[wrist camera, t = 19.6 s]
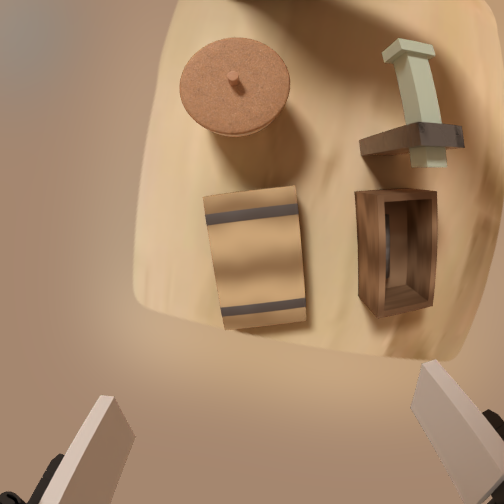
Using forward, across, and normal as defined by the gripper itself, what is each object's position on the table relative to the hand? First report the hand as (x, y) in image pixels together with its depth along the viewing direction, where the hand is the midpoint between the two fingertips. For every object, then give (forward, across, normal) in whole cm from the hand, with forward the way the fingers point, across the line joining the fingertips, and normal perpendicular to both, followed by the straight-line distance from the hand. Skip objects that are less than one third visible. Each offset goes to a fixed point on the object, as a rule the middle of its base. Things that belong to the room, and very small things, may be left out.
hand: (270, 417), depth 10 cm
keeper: (+27, +17, +12) cm, 34 cm away
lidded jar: (+27, 0, +19) cm, 33 cm away
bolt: (+17, +17, +15) cm, 29 cm away
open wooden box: (+27, +17, -1) cm, 32 cm away
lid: (+26, 0, 0) cm, 26 cm away
